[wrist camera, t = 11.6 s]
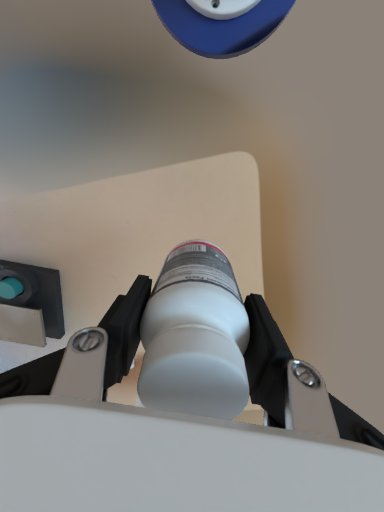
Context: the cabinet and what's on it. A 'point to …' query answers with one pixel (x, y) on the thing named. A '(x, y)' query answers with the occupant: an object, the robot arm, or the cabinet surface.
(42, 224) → the cabinet surface
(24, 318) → the pan
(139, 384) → the pill bottle
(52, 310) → the scale
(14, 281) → the button
